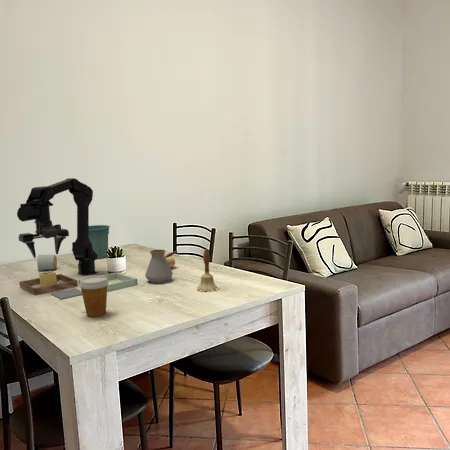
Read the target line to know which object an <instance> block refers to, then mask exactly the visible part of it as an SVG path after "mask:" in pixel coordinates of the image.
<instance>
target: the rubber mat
mask: <svg viewBox="0 0 450 450" xmlns="http://www.w3.org/2000/svg"><path fill="white" fill-rule="evenodd" d="M50 295H51V296H53V297H56V298H57V299H59V300H65V299H66V300H67V299H71V298H74V297H78V296H83V295H82V291H81V290H80V289H78V288H77V287H73V288H68V289H66V290H65V289H64V290H59V291H54V292H50Z"/></svg>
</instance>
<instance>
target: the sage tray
mask: <svg viewBox="0 0 450 450" xmlns="http://www.w3.org/2000/svg"><path fill="white" fill-rule="evenodd" d="M101 276H103V277H106V278H107V280H108V281H112V280H119V281H118V282H115V283H108V285H107V293H108V292H112V291H115V290H120V289H124V288H128V287H129V286H130V287H133V285H134V286H137V285H138V278H136V277H133V276H129V275H126V274H122V273H120V272H112V273H108V274H103V275H101ZM80 281H81V279H78V285H79V284H80Z"/></svg>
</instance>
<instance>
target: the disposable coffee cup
mask: <svg viewBox="0 0 450 450" xmlns="http://www.w3.org/2000/svg"><path fill="white" fill-rule="evenodd" d="M80 280H81V281H80V284H79V283H78V286H79V287H80V289H81V291H82V295H81V296H82V299H83V304H84V310H85V314H86V317H88V318H99V317H102V316H104V315H106V314H107V300H108V299H107V297H108V292H107V285H108V284H110V280H107V278H106V277H103V276H102V275H97V276H95V275H94V276H88V277H84V278H82V279H80Z"/></svg>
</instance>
